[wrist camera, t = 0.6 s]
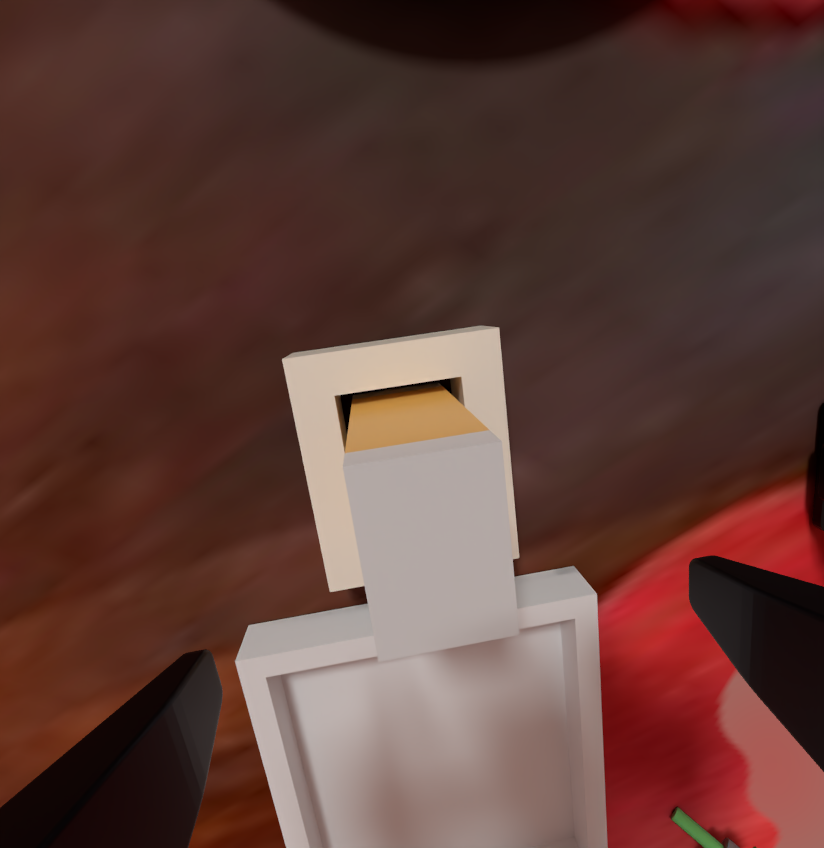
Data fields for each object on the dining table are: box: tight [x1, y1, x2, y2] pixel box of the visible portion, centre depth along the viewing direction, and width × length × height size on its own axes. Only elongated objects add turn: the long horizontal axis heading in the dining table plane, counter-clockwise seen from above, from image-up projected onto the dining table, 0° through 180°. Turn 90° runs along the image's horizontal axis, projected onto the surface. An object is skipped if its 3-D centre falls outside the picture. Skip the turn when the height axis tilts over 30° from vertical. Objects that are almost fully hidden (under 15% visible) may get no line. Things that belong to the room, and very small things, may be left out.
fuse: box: [343, 382, 520, 662], centre depth 15 cm, size 4×5×9 cm
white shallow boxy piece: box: [282, 326, 519, 592], centre depth 18 cm, size 8×9×2 cm
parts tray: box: [235, 566, 608, 848], centre depth 22 cm, size 15×17×2 cm
